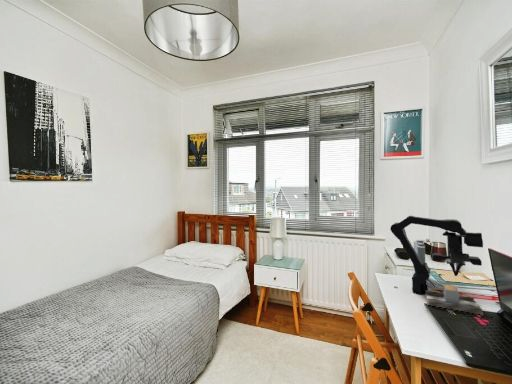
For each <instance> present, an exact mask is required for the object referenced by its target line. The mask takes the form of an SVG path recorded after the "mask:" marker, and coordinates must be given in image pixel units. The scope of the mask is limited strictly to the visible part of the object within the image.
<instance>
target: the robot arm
mask: <svg viewBox="0 0 512 384" xmlns="http://www.w3.org/2000/svg"><path fill="white" fill-rule="evenodd" d="M412 224H414V225H421V226H428V227H432V228H439V229H441V230H444V231H445V232H443V233H442V236H444V237H445V236H446V240H447V241H446V242H447V243H446V244H447V255H442V253H441V252H440V253H438V252H432V253H431V260H432V261H435V262H441V261H443V260H444V261H445V263H446V264H449V266H450V268H451V270H452V272H453V274H454V277H458V274H459V272H460V270H461V269H462V267H464V266H466V263H470V264H471V265H473V266H480V267H481V266H482V265H483V262H482V259H480V258H479V256H470V254H469V253H464V252H463V244H464V245H465V246H467V247H473V248H483V247H484V240H483V234H482V232H468V231H466V229H465V228H463V227H462V223H461V221H459V220H457V219H453V218H452V219H447V218H446V219H437V218H436V219H435V218H429V217H420V216H414V215H408V216H407V217H406V218H404V219H403V220H401V221H400V222H394V223H393V224H392V225H390V232H391V233H392V234H393V235H394V236H395V238H397V240H399V242H400V244H401V245H402V246H401V247H403V249H404V250H405V253H406V254H407V256H408V257H409V259H410V261H411V263H412V265H413V269H414V270H415V273H413V274H412V277H411V282H412V283H411V284H412V287H411V289H412V294H418V295H423V296H425V293H426V290H428V291H429V284H428V283H427V280H429V279H430V276H431V268H430V267H429V266H428V263H427V262H425V263H423V262H422V261H421V260H420V259H419V257H418V255H417V253H416V252H415V250H414V246H413V245H412V243H411V241H410V239H409V238H408V237H407V236H408V235H407V233H406V232H407V230H406V229H405V228H407V227H408V226H410V225H412Z"/></svg>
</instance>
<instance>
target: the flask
mask: <svg viewBox="0 0 512 384" xmlns="http://www.w3.org/2000/svg"><path fill="white" fill-rule="evenodd" d="M413 248H414V250H415V252H416V253H417V255H418V257H419V259H420V260H421V261H422V262H423V263H426V245H425V244H424V240H423V239H416V240H413ZM414 273H415V270H414ZM414 273H413V274H414Z"/></svg>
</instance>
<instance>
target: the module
mask: <svg viewBox="0 0 512 384" xmlns="http://www.w3.org/2000/svg"><path fill="white" fill-rule="evenodd" d="M442 293H443V297H444V299H445V302H446V303H451V304H458V305H459V295H460V291H459V289H458V288H457V286H455V285H447V284H442Z"/></svg>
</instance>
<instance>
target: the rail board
mask: <svg viewBox="0 0 512 384" xmlns="http://www.w3.org/2000/svg"><path fill="white" fill-rule="evenodd" d="M424 298H425V301H426V306H427V307H429V306H428V305H431V306H430V307H432V306H436V307H435V308H438V307H442V308H441V309H443V308H448V309H447V310H449V309H453V310H452V311H455V310H459V311H458V312H460V311H465V312H464V313H466V312H470V313H469V314H472V313H474V315H478V314H480V315H479V316H484V312H483V310H482V307H480V306H479V304H478V303H477V302H476V301H475V297H473V296H467V295H463V294H462V295H460V294H459V305H458V304H451V303H446V302H445V299H444V297H443V291H442V292H440V291H433V290H429V289H428V290H426V293H425V295H424Z"/></svg>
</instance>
